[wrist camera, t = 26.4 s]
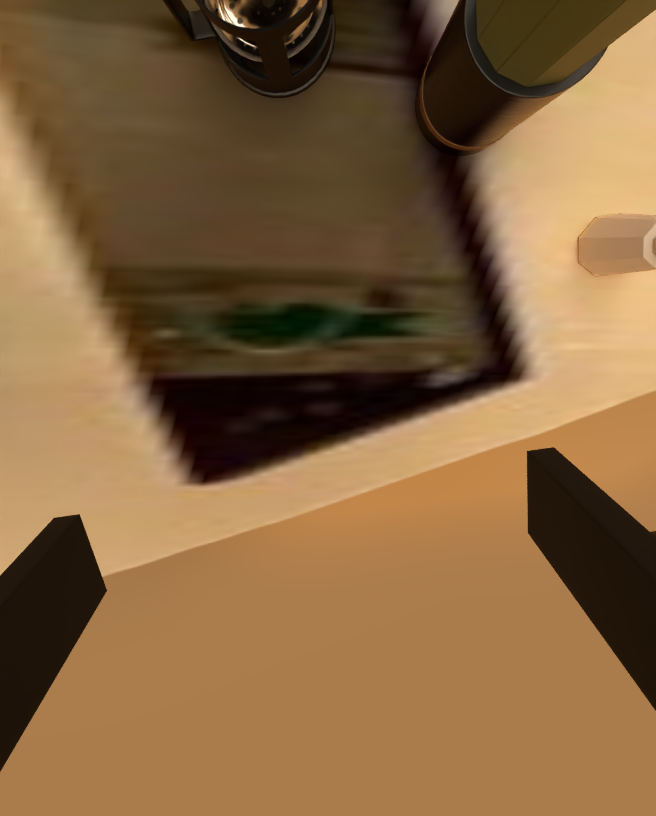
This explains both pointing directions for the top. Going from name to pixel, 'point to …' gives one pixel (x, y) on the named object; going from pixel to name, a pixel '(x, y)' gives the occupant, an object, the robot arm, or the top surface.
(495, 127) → the flask
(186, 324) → the top surface
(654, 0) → the olive tea canister
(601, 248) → the salt shaker
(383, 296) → the top surface
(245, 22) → the french press
